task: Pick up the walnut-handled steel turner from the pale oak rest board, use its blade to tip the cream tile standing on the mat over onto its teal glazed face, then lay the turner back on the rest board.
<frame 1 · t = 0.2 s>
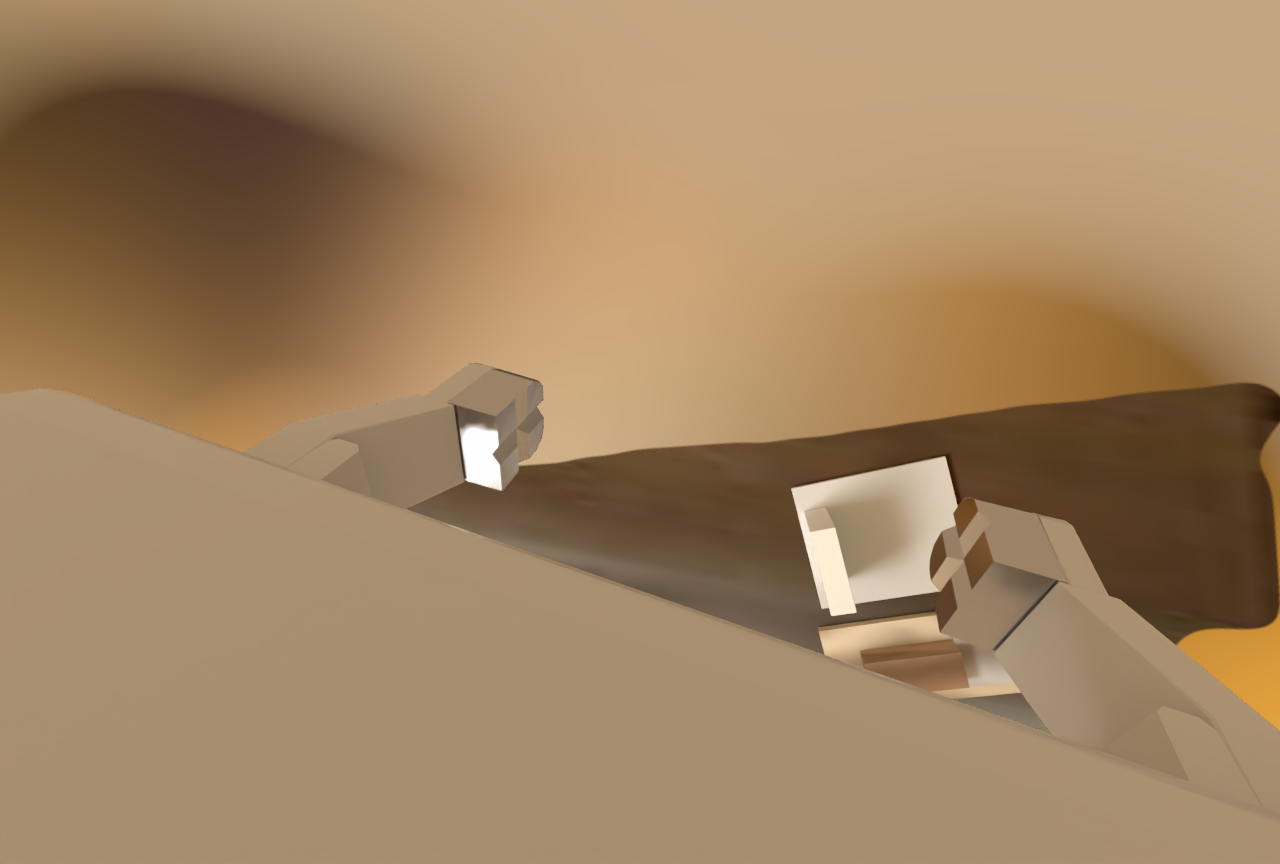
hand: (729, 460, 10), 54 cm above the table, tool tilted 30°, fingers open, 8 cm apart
mat: (880, 534, 60), on the table
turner: (945, 657, 59), point 1 cm above the table, touching rest board
rest board: (924, 654, 60), on the table
tile: (823, 545, 61), point 1 cm above the table, touching mat
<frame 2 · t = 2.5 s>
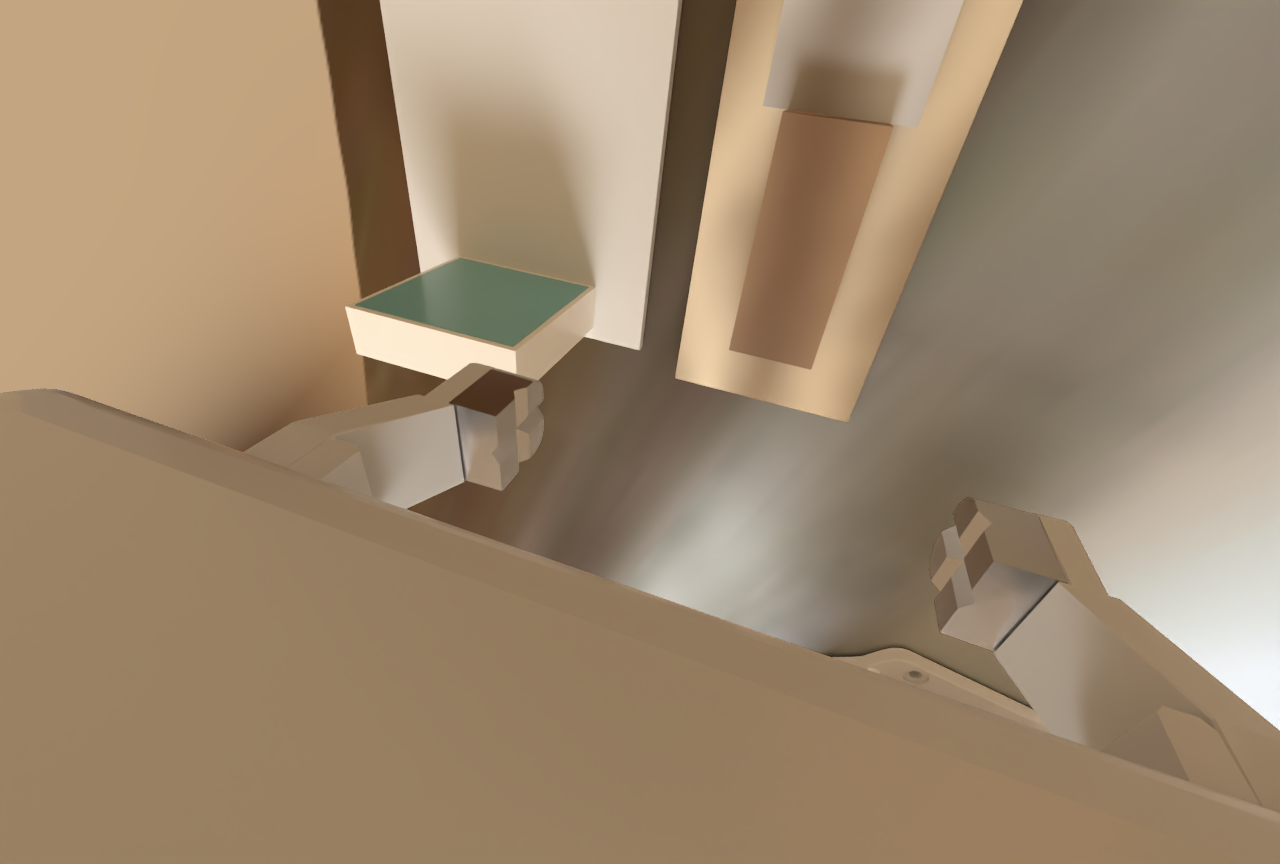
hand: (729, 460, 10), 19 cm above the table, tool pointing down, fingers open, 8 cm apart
mat: (527, 171, 28), on the table
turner: (830, 142, 22), point 1 cm above the table, touching rest board
rest board: (817, 189, 24), on the table
tile: (525, 291, 31), point 1 cm above the table, touching mat
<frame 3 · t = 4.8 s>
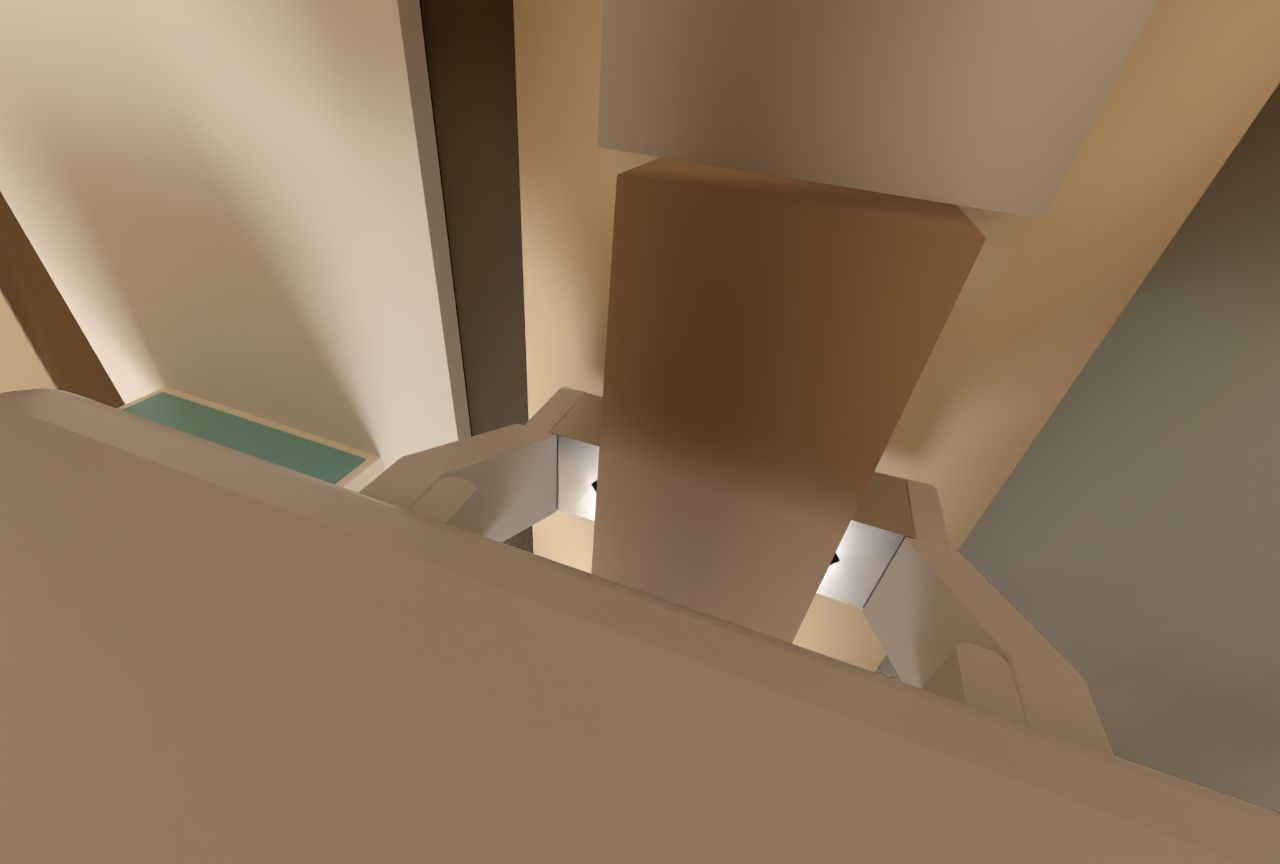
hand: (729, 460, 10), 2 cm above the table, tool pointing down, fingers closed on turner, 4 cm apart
mat: (225, 256, 14), on the table
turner: (789, 234, 9), point 1 cm above the table, touching gripper, rest board
rest board: (767, 324, 10), on the table
tile: (279, 449, 18), point 1 cm above the table, touching mat
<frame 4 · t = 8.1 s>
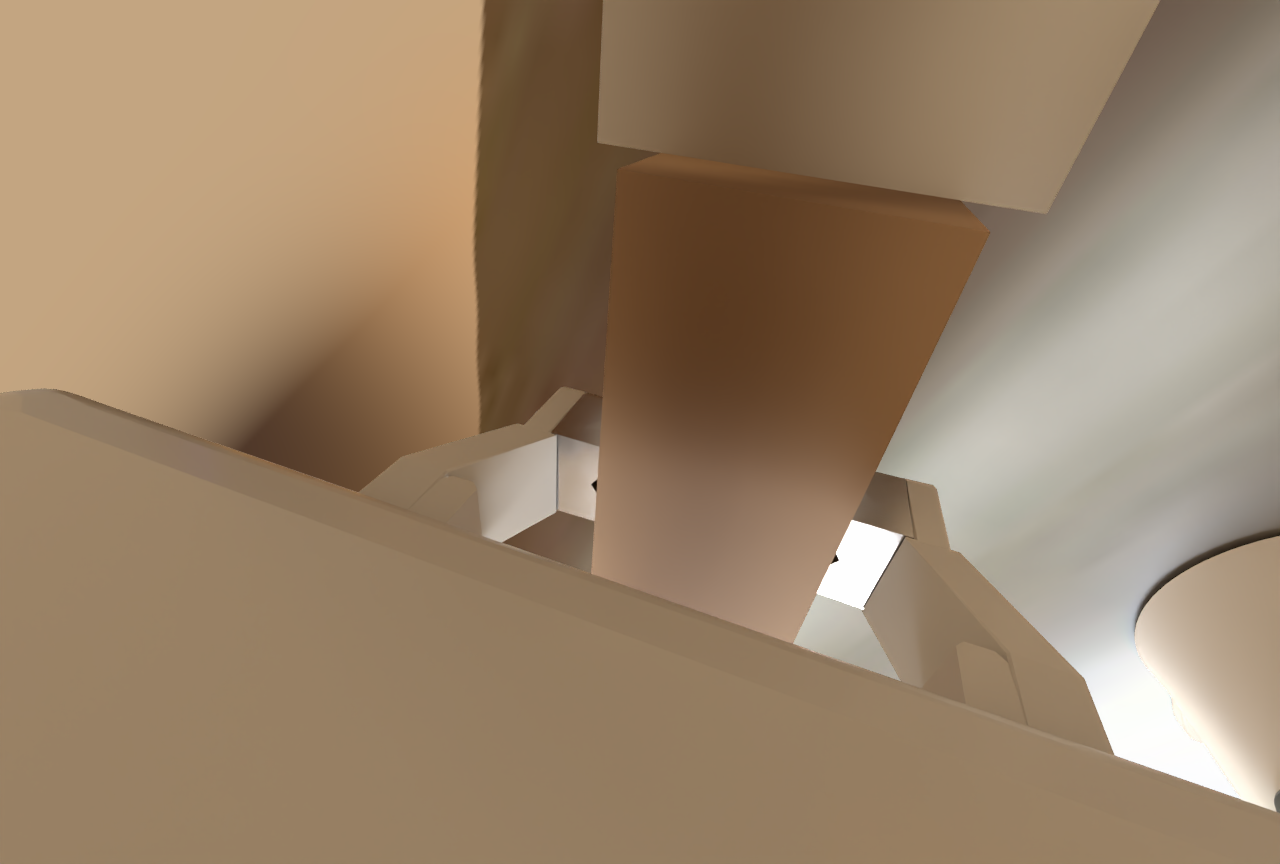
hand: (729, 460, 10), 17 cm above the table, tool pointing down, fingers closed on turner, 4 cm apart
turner: (790, 231, 8), point 16 cm above the table, touching gripper
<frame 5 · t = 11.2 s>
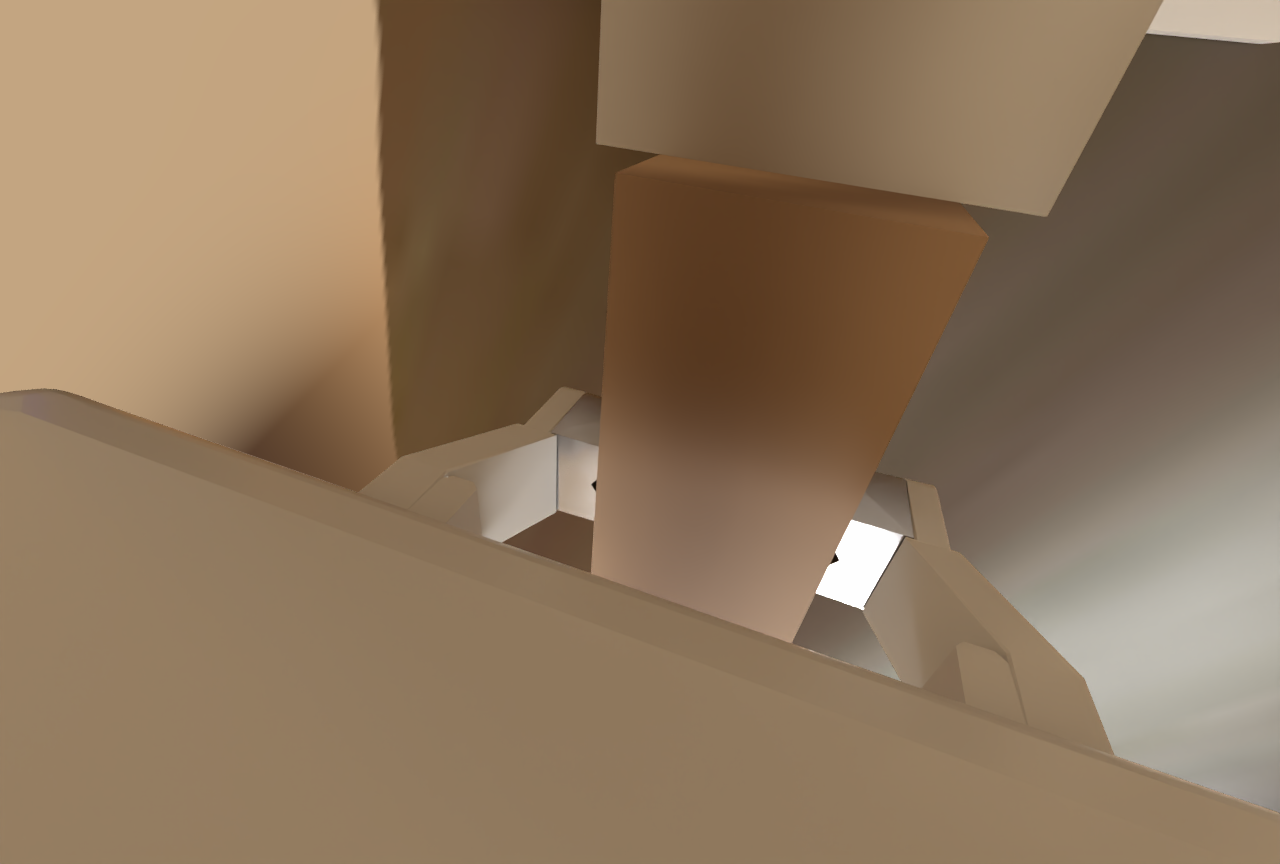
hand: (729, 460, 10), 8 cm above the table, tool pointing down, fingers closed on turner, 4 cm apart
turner: (789, 232, 8), point 7 cm above the table, touching gripper
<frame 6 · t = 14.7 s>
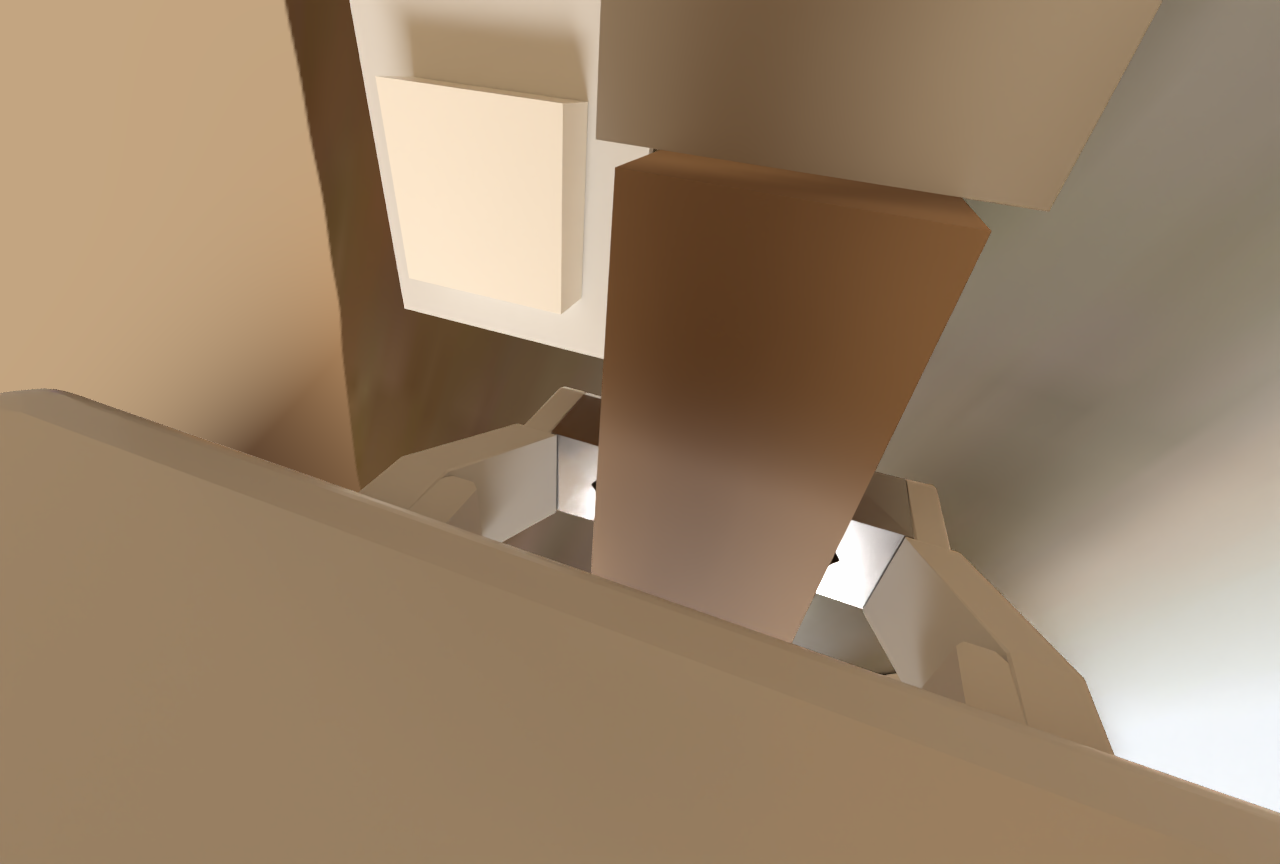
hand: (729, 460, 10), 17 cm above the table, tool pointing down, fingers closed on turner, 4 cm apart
mat: (508, 178, 26), on the table
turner: (790, 228, 8), point 16 cm above the table, touching gripper
tile: (495, 288, 28), point 2 cm above the table, tilted 90°, touching mat
when the fingers open (4 cm above the table, at t = 17.6 s): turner drops 2 cm, resting on rest board.
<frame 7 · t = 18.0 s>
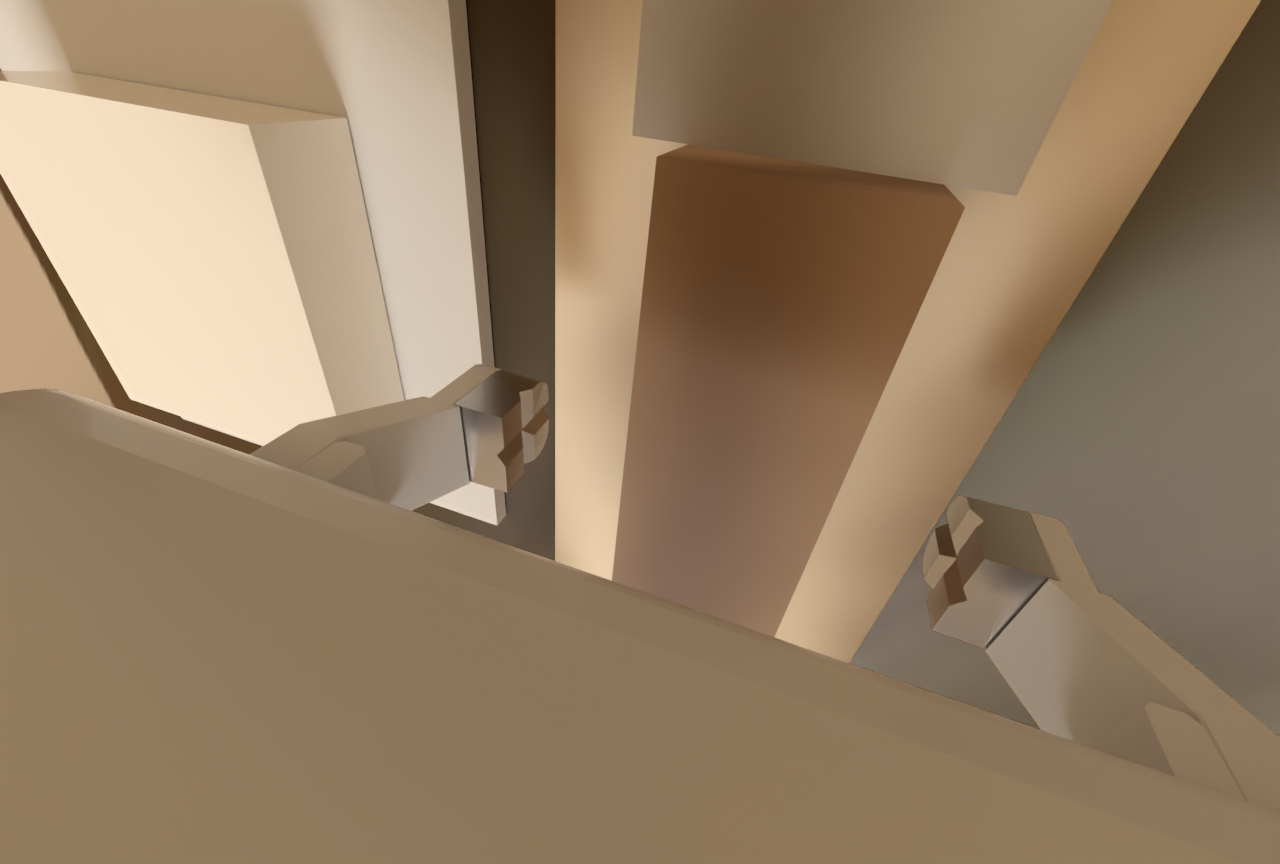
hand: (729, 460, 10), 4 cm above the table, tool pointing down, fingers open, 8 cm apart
mat: (270, 242, 16), on the table
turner: (798, 214, 10), point 1 cm above the table, touching rest board
rest board: (775, 299, 12), on the table
tile: (270, 414, 17), point 2 cm above the table, tilted 90°, touching mat
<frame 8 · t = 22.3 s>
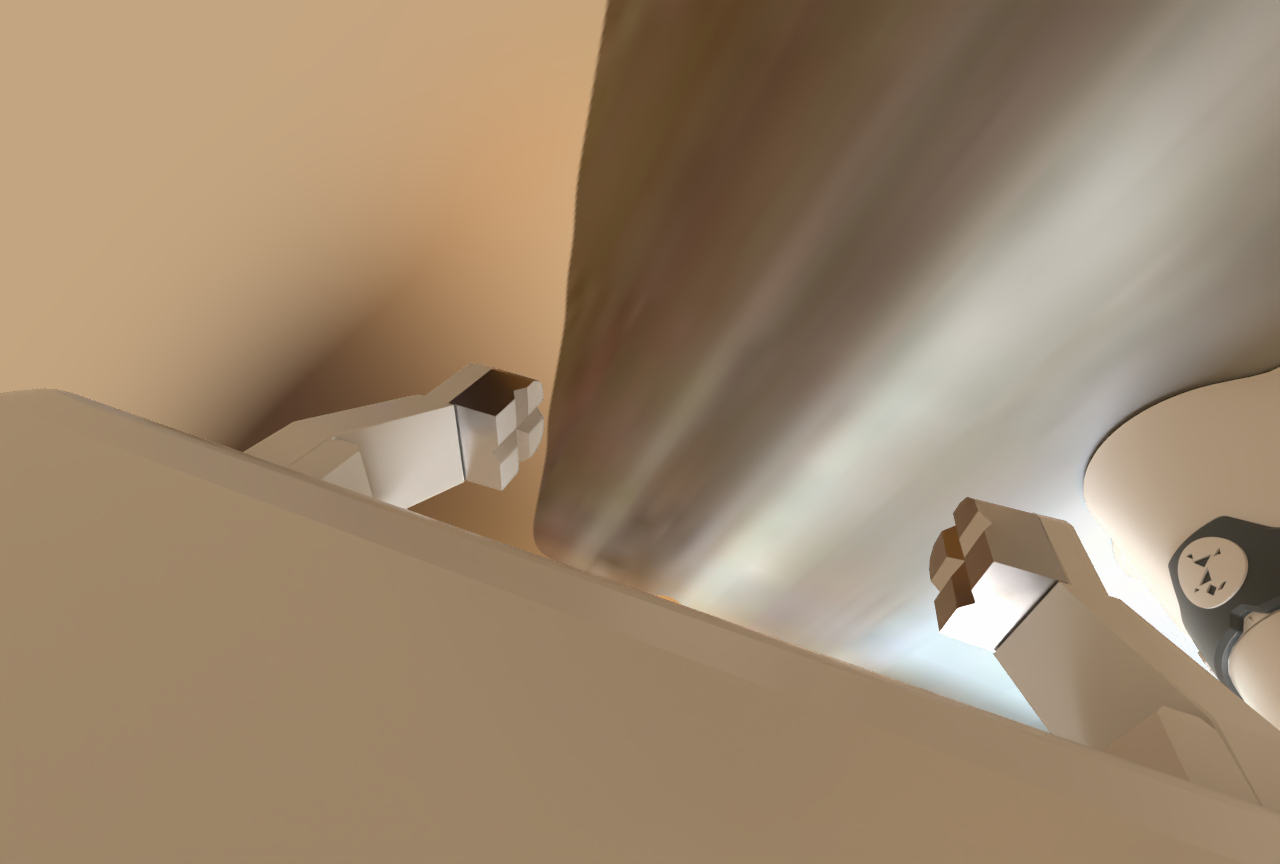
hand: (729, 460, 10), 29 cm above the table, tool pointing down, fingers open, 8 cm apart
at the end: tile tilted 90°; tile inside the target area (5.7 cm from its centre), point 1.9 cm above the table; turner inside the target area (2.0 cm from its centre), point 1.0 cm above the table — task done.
